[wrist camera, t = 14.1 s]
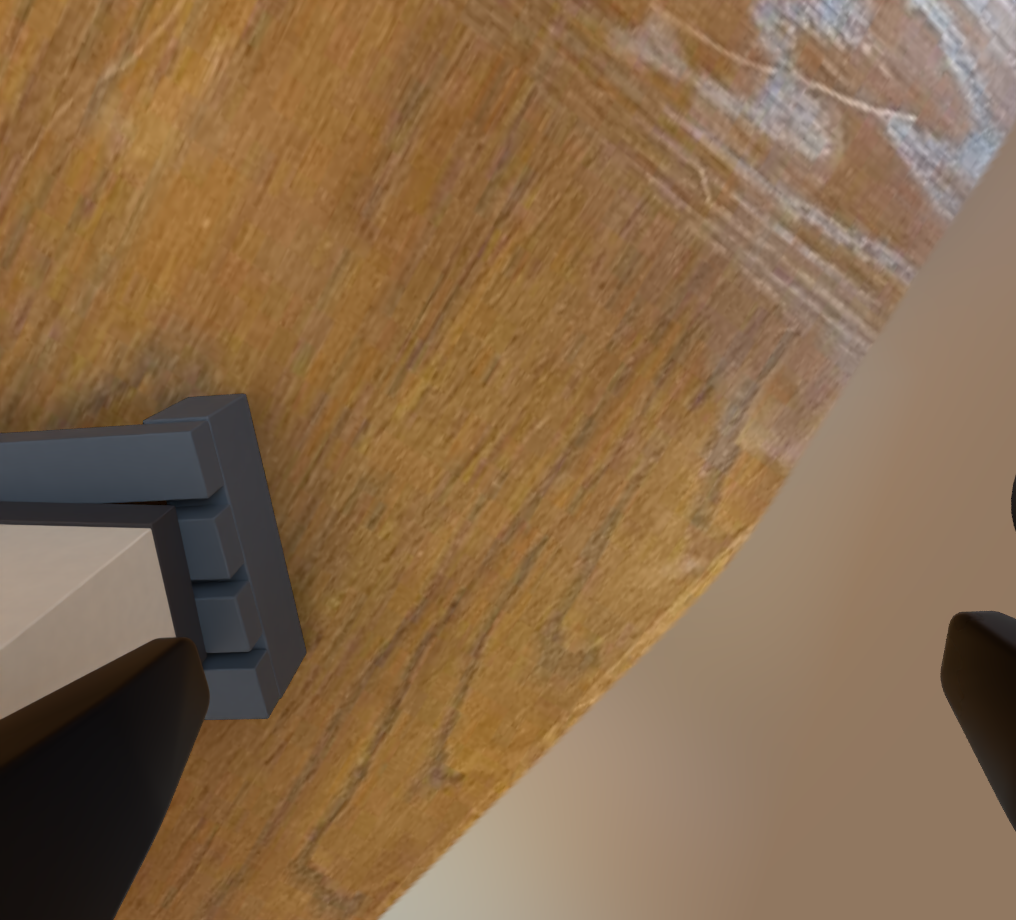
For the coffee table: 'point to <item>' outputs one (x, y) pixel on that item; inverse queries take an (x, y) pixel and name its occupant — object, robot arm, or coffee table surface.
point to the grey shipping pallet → (189, 528)
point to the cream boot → (86, 591)
